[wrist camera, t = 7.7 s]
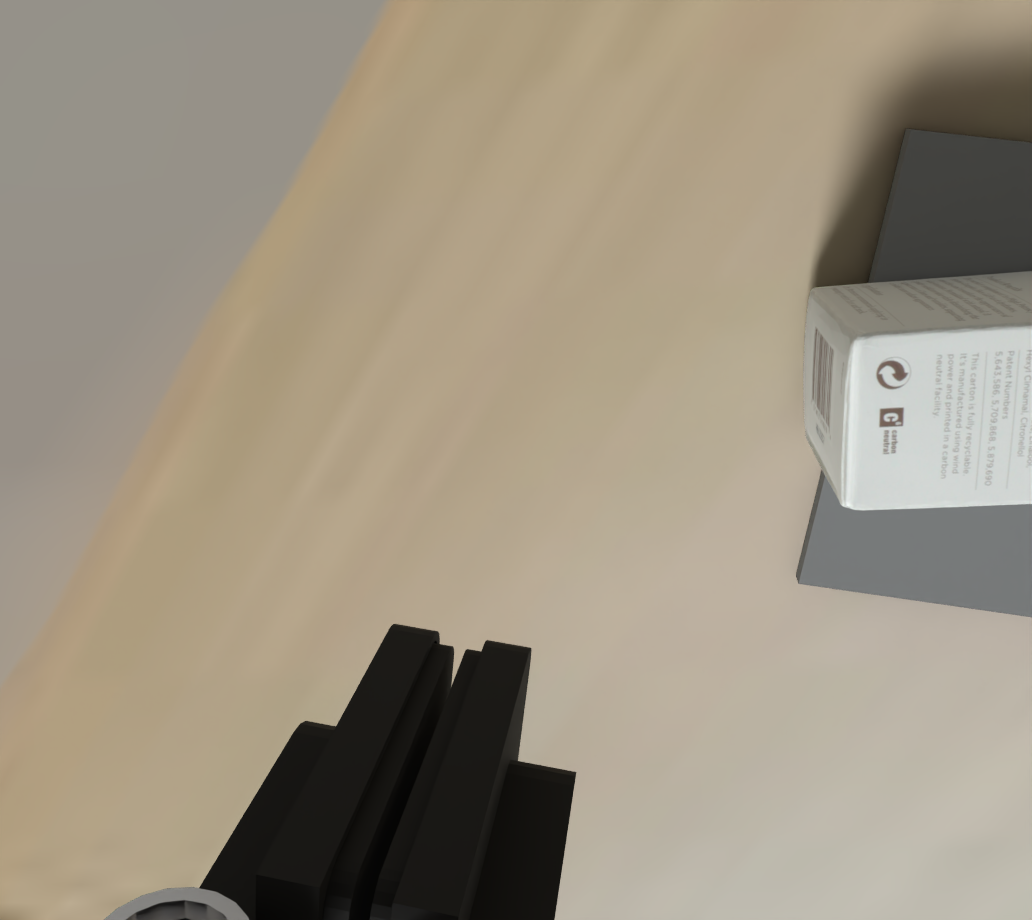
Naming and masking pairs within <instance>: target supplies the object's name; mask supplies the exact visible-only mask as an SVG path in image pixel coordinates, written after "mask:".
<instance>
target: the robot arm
mask: <svg viewBox="0 0 1032 920" xmlns="http://www.w3.org/2000/svg"><path fill="white" fill-rule="evenodd" d="M439 643H440V638H439V633H438V631H432V630H426V629H421V628H415V627H409V626H404V625H398V624H393V625H392V626H391V627H390V629H389V631H388V632H387V634H386V636H385V638H384V640H383V642H382V643H381V645H380V647H379V649H378V651H377V653H376V654H375V656H374V658H373V660H372V662H371V664H370V665H369V667H368V669H367V671H366V673H365V675H364V676H363V678H362V680H361V682H360V684H359V686H358V687H357V689H356V691H355V693H354V695H353V697H352V698H351V700H350V702H349V704H348V706H347V708H346V710H345V711H344V713H343V715H342V717H341V719H340V721H339V722H338V724H337V726H336V727H335V726H330V725H325V724H320V723H314V722H309V721H305V722H303V723H301V724H300V725H299V726H298V727H297V729H296V730H295V731H294V733H293V734H292V736H291V738H290V739H289V741H288V743H287V744H286V746H285V748H284V749H283V751H282V752H281V754H280V756H279V757H278V759H277V761H276V762H275V764H274V766H273V767H272V769H271V771H270V772H269V774H268V776H267V777H266V779H265V780H264V782H263V784H262V785H261V787H260V789H259V790H258V792H257V794H256V795H255V797H254V799H253V800H252V802H251V804H250V805H249V807H248V808H247V810H246V812H245V813H244V815H243V817H242V818H241V820H240V822H239V823H238V825H237V827H236V828H235V830H234V832H233V833H232V835H231V836H230V838H229V840H228V841H227V843H226V845H225V846H224V848H223V850H222V851H221V853H220V855H219V856H218V858H217V860H216V861H215V863H214V864H213V866H212V868H211V869H210V871H209V873H208V874H207V876H206V878H205V879H204V881H203V883H202V884H201V886H200V887H199V888H195V887H185V888H167V889H163V890H160V891H156V892H153V893H149V894H146V895H142V896H140V897H138V898H136V899H134V900H132V901H130V902H128V903H127V904H125V905H123V906H121V907H119V908H117V909H116V910H115V911H113V912H112V913H111V914H110V915H109V916H108V917H106V918H105V919H104V920H554V918H555V911H556V905H557V898H558V891H559V885H560V878H561V871H562V864H563V858H564V851H565V844H566V837H567V831H568V824H569V817H570V811H571V804H572V797H573V790H574V784H575V777H576V772H572V771H567V770H562V769H557V768H551V767H546V766H541V765H536V764H530V763H525V762H520V761H518V755H519V747H520V739H521V731H522V723H523V715H524V708H525V700H526V692H527V684H528V676H529V669H530V660H531V648H528V647H523V646H517V645H511V644H506V643H500V642H494V641H489V640H487V641H486V642H485V644H484V646H483V649H482V652H480V651H475V650H469V649H467V650H466V651H465V653H464V656H463V658H462V661H461V664H460V666H459V669H458V671H457V674H456V677H455V679H454V682H453V684H452V687H451V682H452V671H453V660H454V648H453V647H452V646H447V645H441V644H439Z"/></svg>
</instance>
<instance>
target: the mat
mask: <svg viewBox="0 0 1032 920" xmlns="http://www.w3.org/2000/svg"><path fill="white" fill-rule="evenodd" d="M1025 271H1032V142H1023V141H1014V140H1005V139H996V138H987V137H978V136H969V135H960V134H951V133H941V132H932V131H923V130H914V129H906V130H905V134H904V138H903V142H902V146H901V150H900V154H899V158H898V163H897V167H896V171H895V175H894V179H893V183H892V187H891V191H890V195H889V199H888V203H887V207H886V211H885V215H884V219H883V224H882V228H881V232H880V236H879V240H878V244H877V248H876V252H875V256H874V260H873V264H872V268H871V272H870V276H869V281H868V283H876V282H890V281H905V280H918V279H930V278H944V277H959V276H973V275H986V274H999V273H1012V272H1025ZM796 577H797V580H798V583H799V584H804V585H811V586H818V587H825V588H832V589H839V590H846V591H853V592H860V593H867V594H874V595H880V596H887V597H894V598H901V599H908V600H915V601H922V602H929V603H936V604H943V605H950V606H957V607H964V608H971V609H978V610H985V611H992V612H999V613H1006V614H1013V615H1020V616H1027V617H1032V504H1018V505H992V506H969V507H941V508H919V509H888V510H853V509H850V508H847V507H843V506H842V505H841V504H840V502H839V499H838V498H837V496H836V494H835V492H834V491H833V489H832V487H831V485H830V483H829V482H828V480H827V478H826V476H825V474H824V473H823V471H822V472H821V476H820V480H819V484H818V488H817V492H816V496H815V500H814V504H813V508H812V512H811V517H810V521H809V525H808V529H807V533H806V537H805V541H804V545H803V549H802V553H801V557H800V561H799V565H798V569H797V573H796Z"/></svg>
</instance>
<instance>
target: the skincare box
mask: <svg viewBox="0 0 1032 920" xmlns="http://www.w3.org/2000/svg"><path fill="white" fill-rule="evenodd" d="M803 393H804V423H805V433H806V439H807V441H808V443H809V445H810V447H811V449H812V450H813V452H814V454H815V457H816V459H817V461H818V463H819V465H820V466H821V469H822V471H823V473H824V474H825V476H826V478H827V480H828V482H829V483H830V485H831V487H832V489H833V491H834V492H835V494H836V496H837V498H838V499H839V502H840V504H841V505H842V506H843V507H847V508H850V509H853V510H888V509H919V508H941V507H969V506H992V505H1018V504H1032V271H1025V272H1012V273H999V274H986V275H973V276H959V277H944V278H930V279H918V280H905V281H890V282H876V283H863V284H850V285H838V286H826V287H815V288H813V289H812V290H811V291H810V295H809V300H808V308H807V316H806V329H805V340H804V375H803Z"/></svg>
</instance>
